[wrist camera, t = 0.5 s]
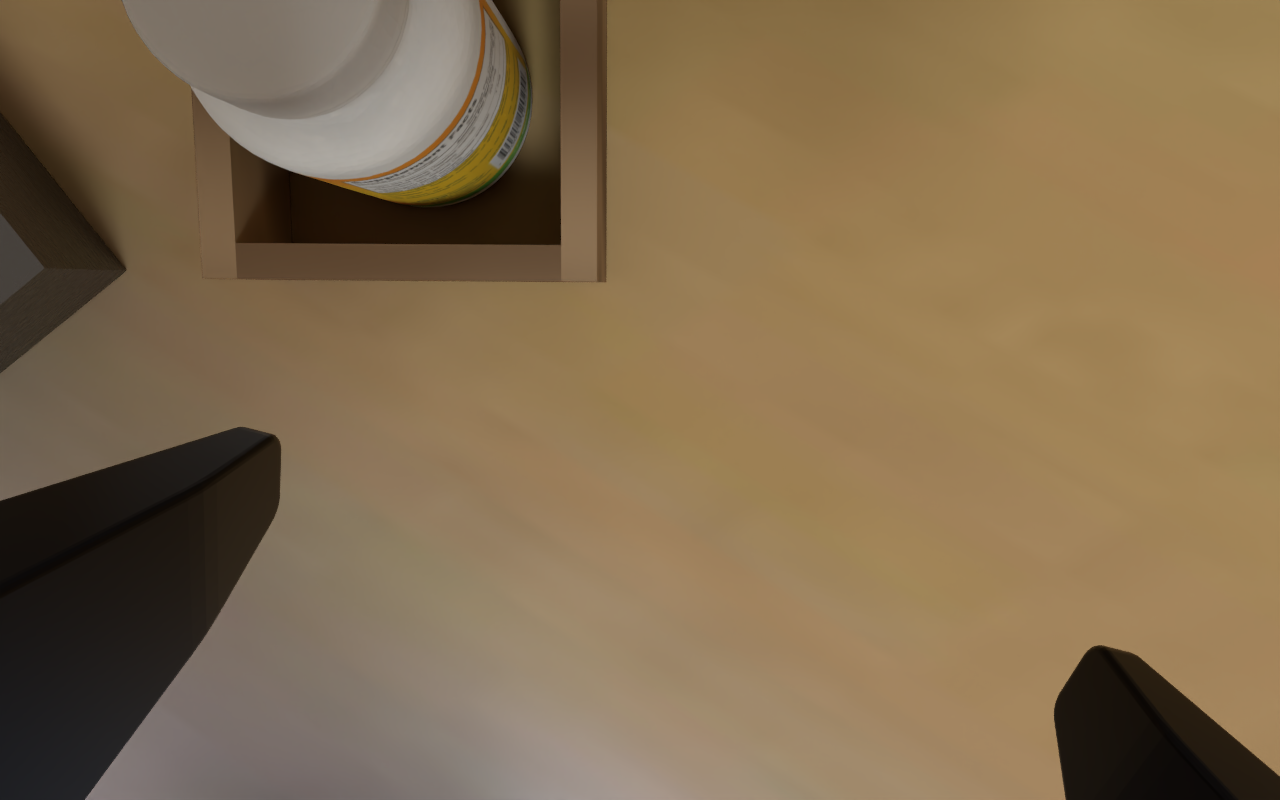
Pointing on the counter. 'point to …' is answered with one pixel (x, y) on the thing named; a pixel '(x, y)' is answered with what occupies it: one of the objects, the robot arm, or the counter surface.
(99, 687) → the robot arm
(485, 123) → the supplement bottle
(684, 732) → the counter surface
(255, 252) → the holder sleeve
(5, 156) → the dock collar
